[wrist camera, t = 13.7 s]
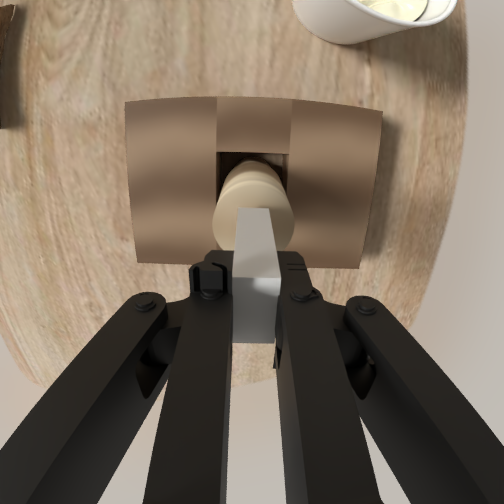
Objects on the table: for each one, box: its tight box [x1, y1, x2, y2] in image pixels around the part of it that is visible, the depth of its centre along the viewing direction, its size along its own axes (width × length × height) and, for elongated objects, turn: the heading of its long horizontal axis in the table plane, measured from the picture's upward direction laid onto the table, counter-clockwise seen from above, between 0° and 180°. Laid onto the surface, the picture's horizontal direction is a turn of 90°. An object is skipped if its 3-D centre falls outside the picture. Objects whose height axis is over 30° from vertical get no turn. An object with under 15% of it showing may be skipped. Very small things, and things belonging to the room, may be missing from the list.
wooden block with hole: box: [125, 97, 383, 269], centre depth 25 cm, size 14×20×4 cm
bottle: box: [212, 157, 295, 251], centre depth 22 cm, size 4×4×12 cm
